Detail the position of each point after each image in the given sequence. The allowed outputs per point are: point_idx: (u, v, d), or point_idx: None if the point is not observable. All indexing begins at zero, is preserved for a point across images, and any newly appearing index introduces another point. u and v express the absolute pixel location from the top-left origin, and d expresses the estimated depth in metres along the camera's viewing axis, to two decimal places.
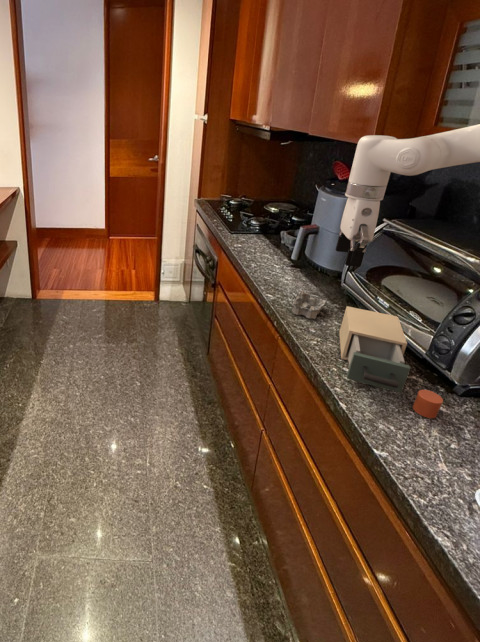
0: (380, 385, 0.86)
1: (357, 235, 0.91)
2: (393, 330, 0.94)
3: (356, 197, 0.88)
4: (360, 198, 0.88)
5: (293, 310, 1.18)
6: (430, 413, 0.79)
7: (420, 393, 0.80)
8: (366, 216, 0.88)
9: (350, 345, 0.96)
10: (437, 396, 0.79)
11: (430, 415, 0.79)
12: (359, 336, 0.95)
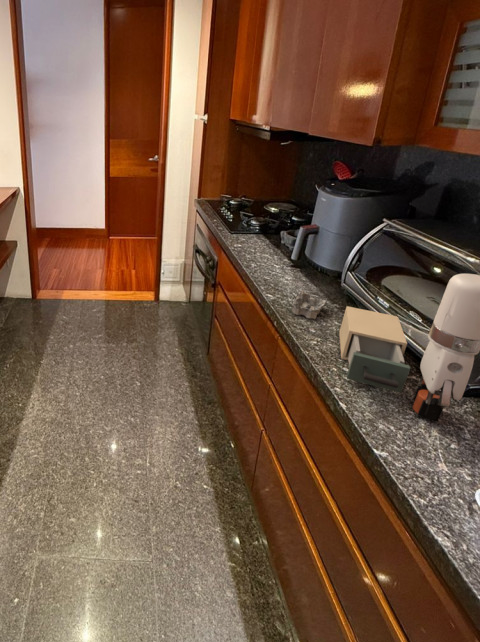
0: (380, 385, 0.86)
1: (441, 388, 0.75)
2: (393, 330, 0.94)
3: (442, 346, 0.73)
4: (447, 349, 0.72)
5: (293, 310, 1.18)
6: None
7: (420, 393, 0.80)
8: (454, 371, 0.72)
9: (350, 345, 0.96)
10: (437, 396, 0.79)
11: None
12: (359, 336, 0.95)
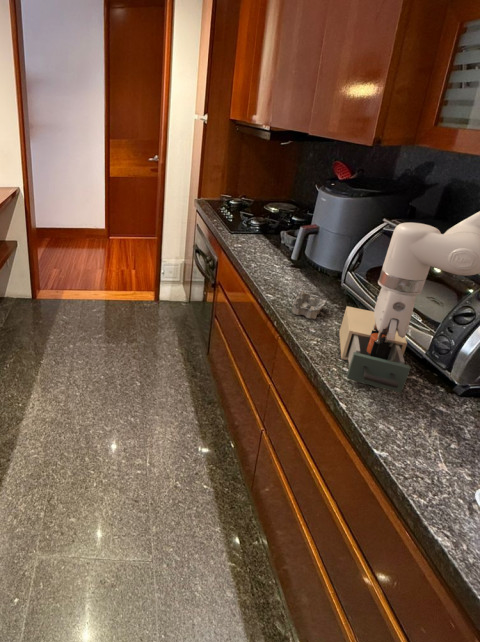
0: (380, 385, 0.86)
1: None
2: None
3: (388, 288, 0.81)
4: (393, 290, 0.80)
5: (293, 310, 1.18)
6: None
7: (372, 335, 0.88)
8: (398, 310, 0.80)
9: (350, 345, 0.96)
10: None
11: None
12: (359, 336, 0.95)
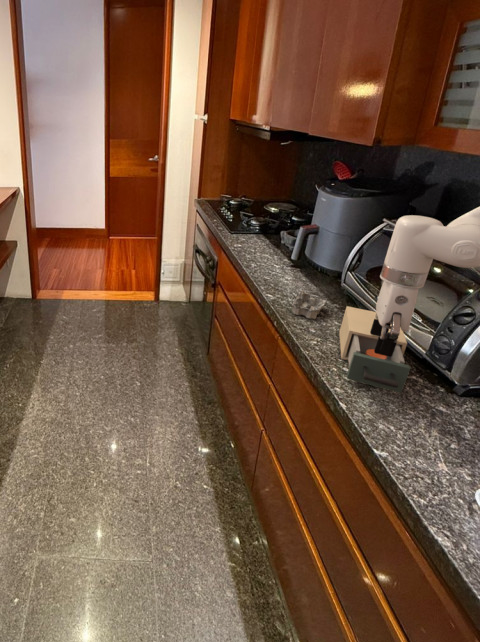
0: (380, 385, 0.86)
1: (391, 322, 0.83)
2: None
3: (390, 282, 0.80)
4: (395, 284, 0.80)
5: (293, 310, 1.18)
6: None
7: (367, 352, 0.90)
8: (401, 304, 0.80)
9: (350, 345, 0.96)
10: None
11: None
12: (359, 336, 0.95)
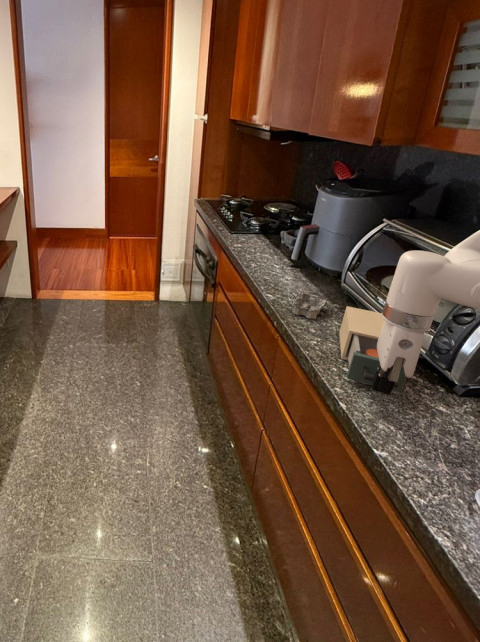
0: None
1: None
2: None
3: (393, 323, 0.73)
4: (398, 326, 0.72)
5: (293, 310, 1.18)
6: None
7: (367, 351, 0.90)
8: (405, 348, 0.72)
9: (350, 345, 0.96)
10: None
11: None
12: (359, 336, 0.95)
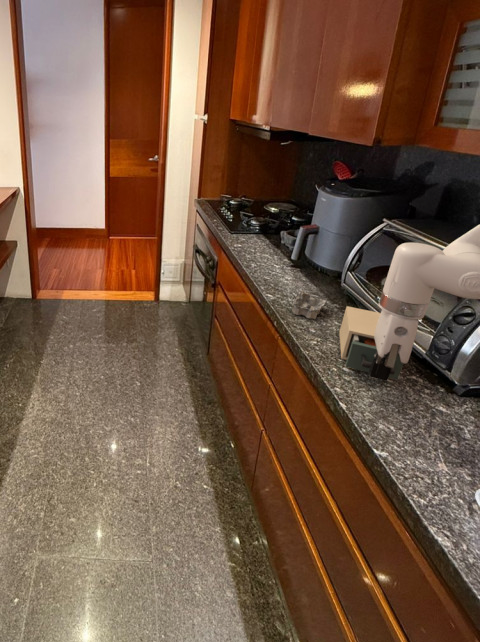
0: None
1: None
2: None
3: (389, 312, 0.77)
4: (394, 314, 0.76)
5: (293, 310, 1.18)
6: None
7: (365, 341, 0.94)
8: (400, 335, 0.76)
9: None
10: None
11: None
12: None
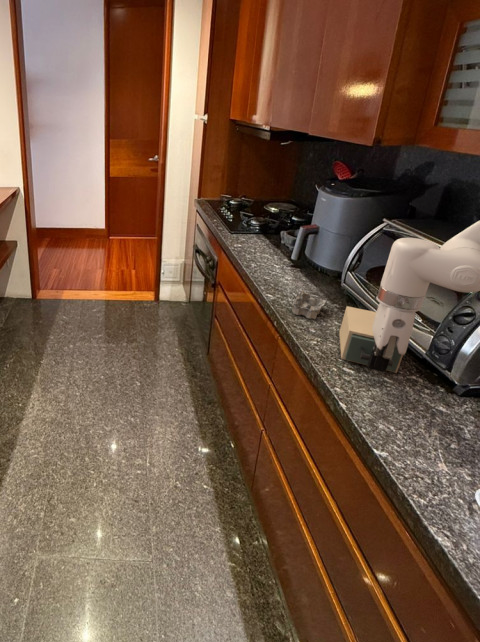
0: None
1: None
2: None
3: (387, 305, 0.79)
4: (392, 307, 0.79)
5: (293, 310, 1.18)
6: None
7: None
8: (398, 327, 0.79)
9: None
10: None
11: None
12: None
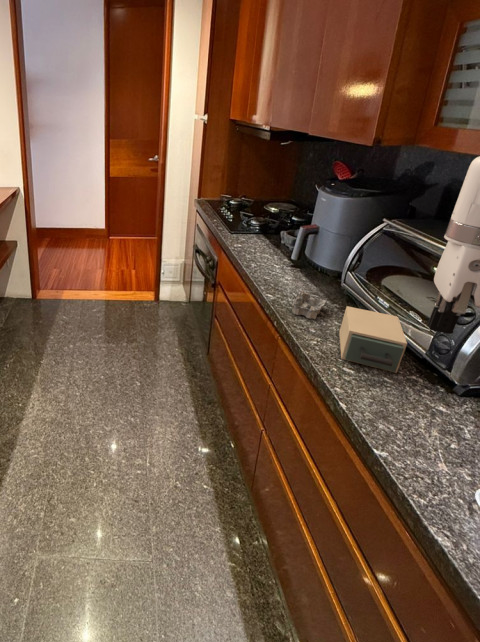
0: (376, 365, 0.92)
1: None
2: (393, 330, 0.94)
3: (462, 243, 0.62)
4: (468, 245, 0.61)
5: (293, 310, 1.18)
6: None
7: None
8: (476, 271, 0.61)
9: None
10: None
11: None
12: None
